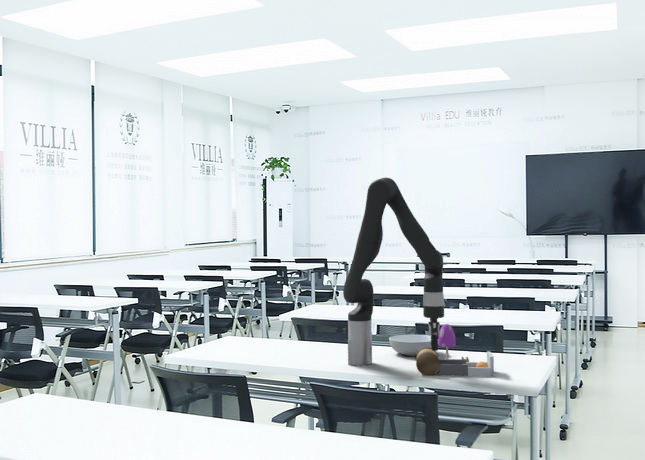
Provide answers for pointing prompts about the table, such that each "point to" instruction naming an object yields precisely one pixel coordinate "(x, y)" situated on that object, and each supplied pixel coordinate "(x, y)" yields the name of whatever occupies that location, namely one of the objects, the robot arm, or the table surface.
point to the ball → (482, 365)
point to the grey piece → (466, 367)
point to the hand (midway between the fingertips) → (434, 348)
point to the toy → (446, 337)
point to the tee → (466, 359)
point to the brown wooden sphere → (427, 361)
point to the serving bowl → (410, 343)
